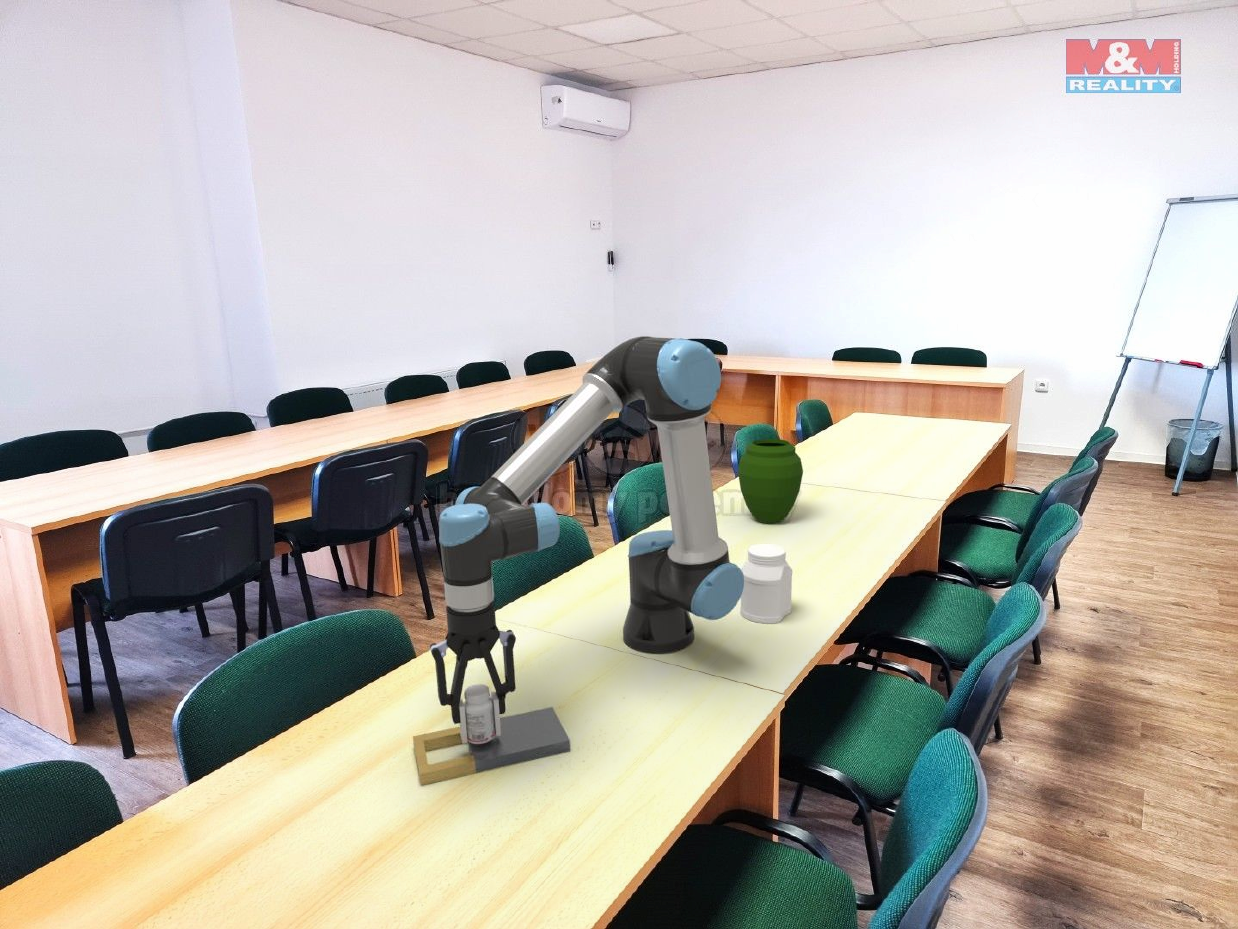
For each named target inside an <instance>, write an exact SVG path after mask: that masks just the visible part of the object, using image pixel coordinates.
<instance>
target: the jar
mask: <svg viewBox="0 0 1238 929" xmlns="http://www.w3.org/2000/svg"><path fill="white" fill-rule="evenodd" d="M786 552H787V551H786V548H784V547H783V546H780V545H777V544H772V543H769V544H768V543H760V544H753V545H751V546H750V547H749V548H747V559H746V561H745V562H744V564H743V565H742V567H741V568H740V569H741V570H742V572H743V575H744V589H743V592H742V595H741V598H740V608H739V609H740V610H739V613H740V615H741V616H742V618H744V619H747V620H748V621H751V622H754V623H757V624H767V625H768V624H777V623H781V622H782V620H783V618H785V617H786V616H787V615H790V614H791V613H792V589H793V588H792V587H793V586H792V584H793V582H792V581H793V580H792V579H793V569H792V567H791V566H790V565H789V563H788V562H787V560H786V557H787V556H786Z"/></svg>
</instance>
